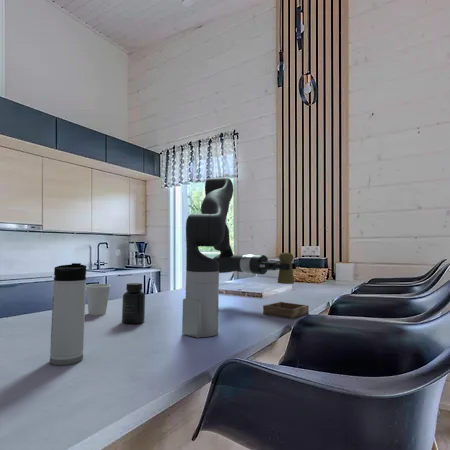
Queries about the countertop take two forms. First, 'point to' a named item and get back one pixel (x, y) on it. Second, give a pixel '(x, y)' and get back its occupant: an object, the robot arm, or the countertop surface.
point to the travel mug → (68, 314)
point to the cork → (286, 275)
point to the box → (286, 310)
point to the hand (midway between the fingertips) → (292, 266)
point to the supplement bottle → (133, 304)
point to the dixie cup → (97, 298)
